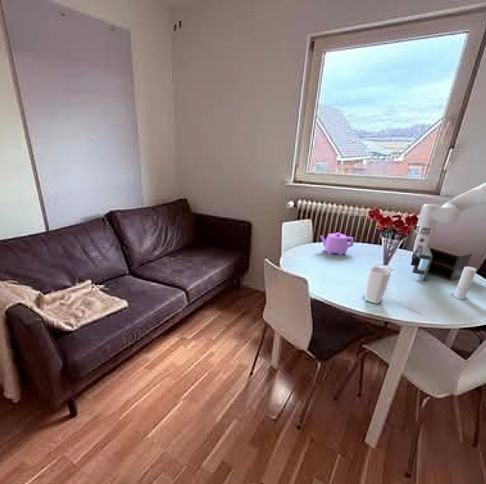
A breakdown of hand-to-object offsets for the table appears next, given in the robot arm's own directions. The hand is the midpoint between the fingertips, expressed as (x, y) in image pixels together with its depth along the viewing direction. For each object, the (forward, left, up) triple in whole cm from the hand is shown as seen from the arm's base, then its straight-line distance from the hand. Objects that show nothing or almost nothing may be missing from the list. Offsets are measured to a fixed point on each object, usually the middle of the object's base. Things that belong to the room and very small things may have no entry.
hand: (414, 262), depth 158 cm
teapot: (+45, +6, -9) cm, 46 cm away
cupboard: (-5, -20, -9) cm, 22 cm away
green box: (0, -6, -9) cm, 10 cm away
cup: (-8, +39, -9) cm, 41 cm away
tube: (-24, +1, -9) cm, 26 cm away
